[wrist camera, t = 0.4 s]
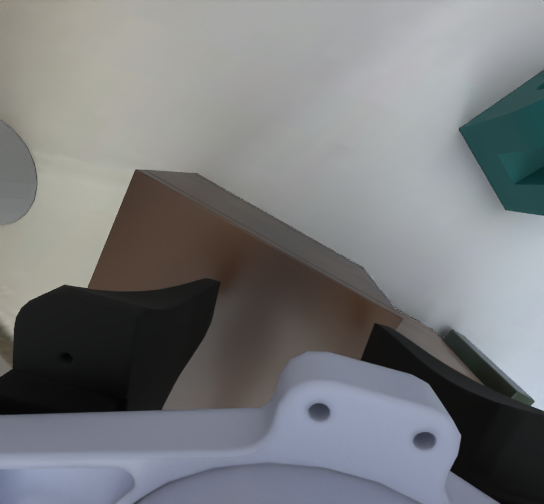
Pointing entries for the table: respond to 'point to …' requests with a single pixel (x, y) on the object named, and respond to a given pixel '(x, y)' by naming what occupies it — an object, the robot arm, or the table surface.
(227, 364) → the cabinet
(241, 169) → the table surface
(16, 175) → the lava lamp
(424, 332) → the drawer
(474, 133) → the bracket
